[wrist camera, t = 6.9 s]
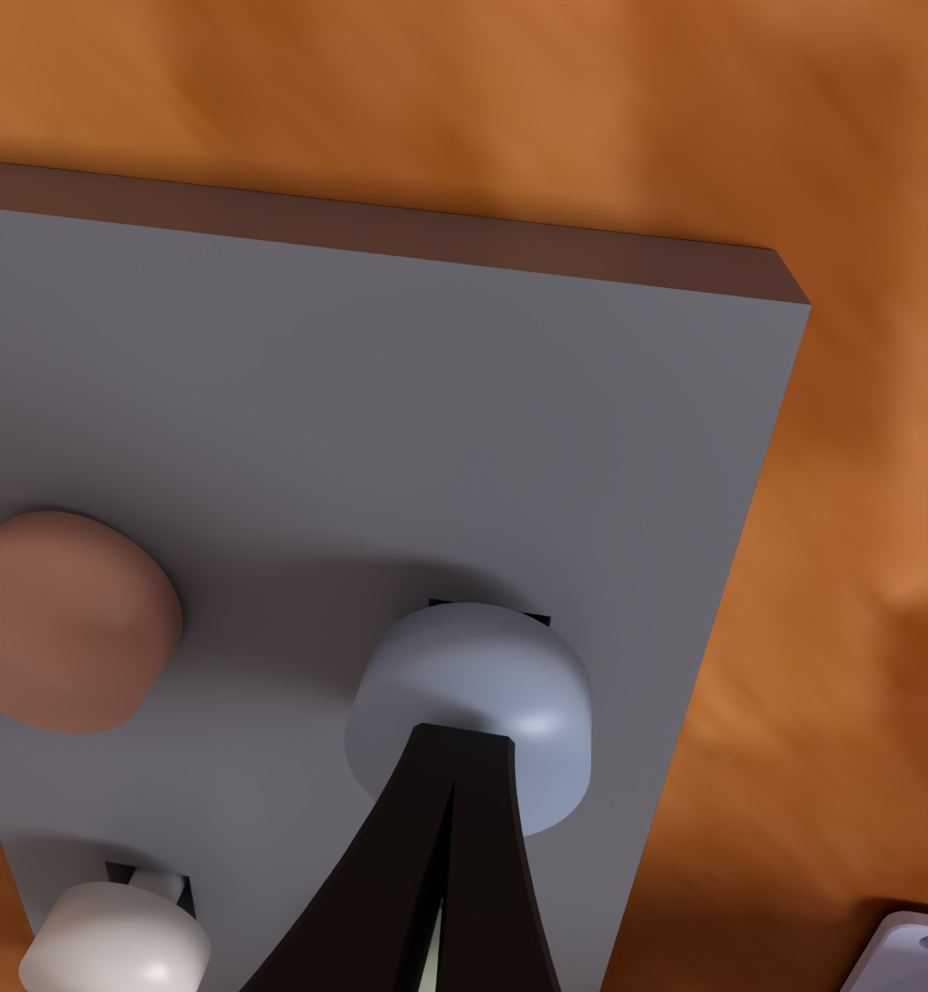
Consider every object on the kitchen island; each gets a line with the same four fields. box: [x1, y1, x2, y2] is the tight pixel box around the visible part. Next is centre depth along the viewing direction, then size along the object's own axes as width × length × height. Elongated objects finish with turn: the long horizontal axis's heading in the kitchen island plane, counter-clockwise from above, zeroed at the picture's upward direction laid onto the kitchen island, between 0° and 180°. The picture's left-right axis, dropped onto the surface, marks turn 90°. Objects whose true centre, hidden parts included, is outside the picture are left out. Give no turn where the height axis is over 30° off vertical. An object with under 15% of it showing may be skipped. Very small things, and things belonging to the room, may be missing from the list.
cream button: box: [19, 867, 212, 992], centre depth 19 cm, size 4×4×4 cm
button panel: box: [0, 163, 812, 992], centre depth 18 cm, size 14×22×2 cm, turn 175°
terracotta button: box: [0, 511, 183, 734], centre depth 15 cm, size 4×4×4 cm
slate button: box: [344, 603, 592, 837], centre depth 14 cm, size 4×4×4 cm
